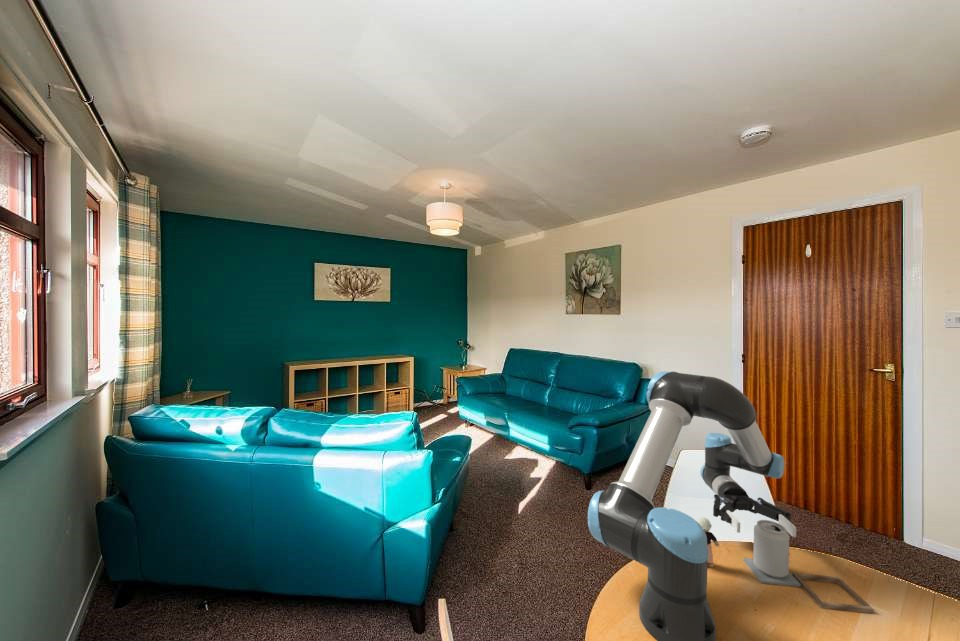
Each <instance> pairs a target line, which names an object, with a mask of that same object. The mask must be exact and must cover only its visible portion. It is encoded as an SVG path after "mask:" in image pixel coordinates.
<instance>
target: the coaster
mask: <svg viewBox="0 0 960 641" xmlns="http://www.w3.org/2000/svg"><path fill="white" fill-rule="evenodd" d="M742 560H743V562H744V563H745V564H746V565H747V568H748V569H749V570H750V571H751V572H752V573H753V575H754V576H755V577H756V579H757V580H758V581H759V582H760V583H761V584H765V585H766V584H767V585H779V586H786V587H787V586H788V587H789V586H790V587H797V588H798V587H799V588H800V587H801V584H800V583H799V582H798V581H797V580H796V579H795V577H794V576H793V575H792V573H791V572H790V571H789V574H788V575H787V576H784V577H782V578H775V577H771V576H768V575H766V574H764V573H762V572H761V571H760V570H759V569H758V568H757V567H756V566H755V565H754V563H753V558H748V557H743V559H742ZM801 588H802V587H801Z"/></svg>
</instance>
